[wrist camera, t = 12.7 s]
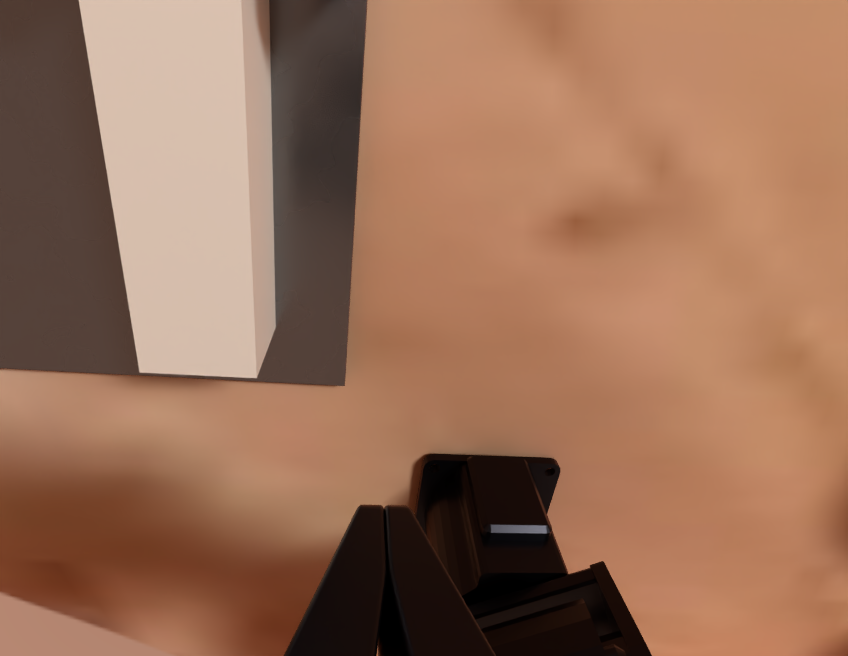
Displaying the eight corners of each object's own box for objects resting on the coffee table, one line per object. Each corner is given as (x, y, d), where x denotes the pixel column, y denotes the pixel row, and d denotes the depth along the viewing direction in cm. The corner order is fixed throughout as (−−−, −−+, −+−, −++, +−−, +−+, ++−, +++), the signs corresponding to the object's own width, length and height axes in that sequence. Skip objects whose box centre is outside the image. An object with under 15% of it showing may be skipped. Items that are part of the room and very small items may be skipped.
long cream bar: (275, 327, 19) (256, 378, 16) (178, 321, 19) (139, 372, 16) (262, -337, 12) (221, -481, 8) (97, -374, 11) (-11, -540, 8)
